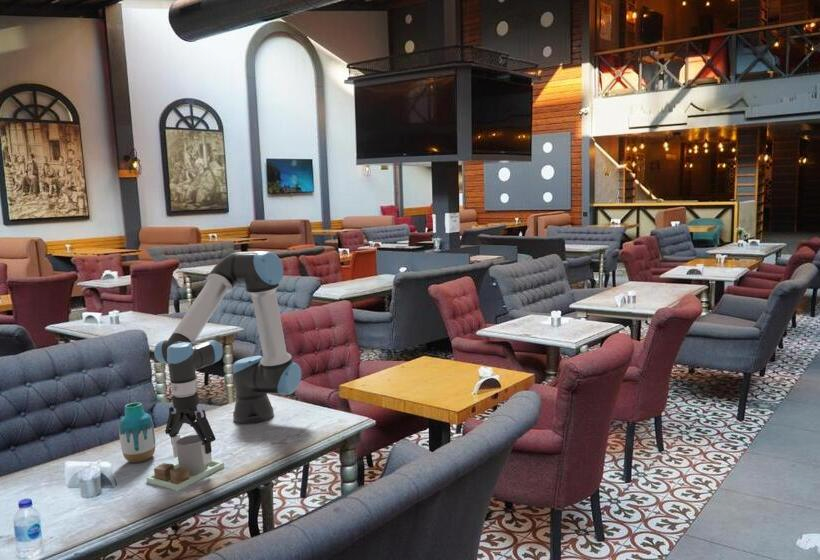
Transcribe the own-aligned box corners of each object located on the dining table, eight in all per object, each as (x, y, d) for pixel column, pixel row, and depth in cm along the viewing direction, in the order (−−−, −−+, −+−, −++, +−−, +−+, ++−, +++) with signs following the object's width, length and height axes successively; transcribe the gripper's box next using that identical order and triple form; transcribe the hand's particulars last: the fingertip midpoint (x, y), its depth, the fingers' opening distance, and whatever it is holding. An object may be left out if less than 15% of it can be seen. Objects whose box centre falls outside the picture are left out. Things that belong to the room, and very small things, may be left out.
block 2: (184, 478, 203) (182, 466, 202) (189, 482, 200) (188, 469, 199) (171, 483, 200) (169, 470, 199) (177, 487, 197) (175, 474, 197)
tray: (194, 461, 217) (193, 455, 217) (224, 468, 210) (223, 462, 210) (147, 484, 202) (146, 477, 202) (177, 492, 195) (177, 486, 195)
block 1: (164, 475, 206) (163, 463, 206) (175, 476, 205) (173, 464, 204) (155, 480, 203) (153, 468, 202) (165, 482, 201) (164, 469, 200)
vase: (144, 467, 215) (137, 410, 212) (116, 466, 217) (108, 410, 214) (164, 454, 225) (157, 399, 222) (136, 453, 227) (129, 399, 225)
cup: (199, 476, 204) (195, 445, 202) (174, 475, 205) (170, 444, 204) (212, 464, 212) (209, 434, 210) (188, 464, 213) (185, 434, 212)
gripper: (148, 392, 208) (156, 457, 211) (203, 402, 195) (211, 470, 198) (168, 385, 215) (175, 448, 218) (222, 394, 201) (230, 461, 204)
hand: (192, 459), depth 208 cm, fingers open, 13 cm apart
